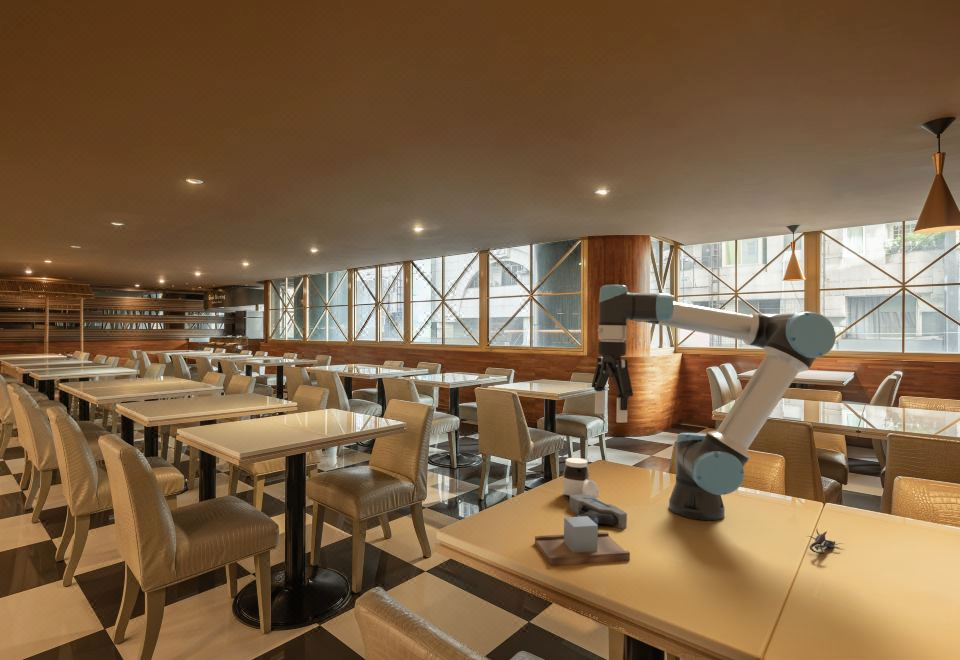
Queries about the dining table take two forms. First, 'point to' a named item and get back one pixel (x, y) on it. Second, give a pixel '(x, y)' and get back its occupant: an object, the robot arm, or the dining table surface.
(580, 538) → the cube
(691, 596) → the dining table surface
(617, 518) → the ray gun
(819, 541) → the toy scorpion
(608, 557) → the board
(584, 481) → the spread jar
